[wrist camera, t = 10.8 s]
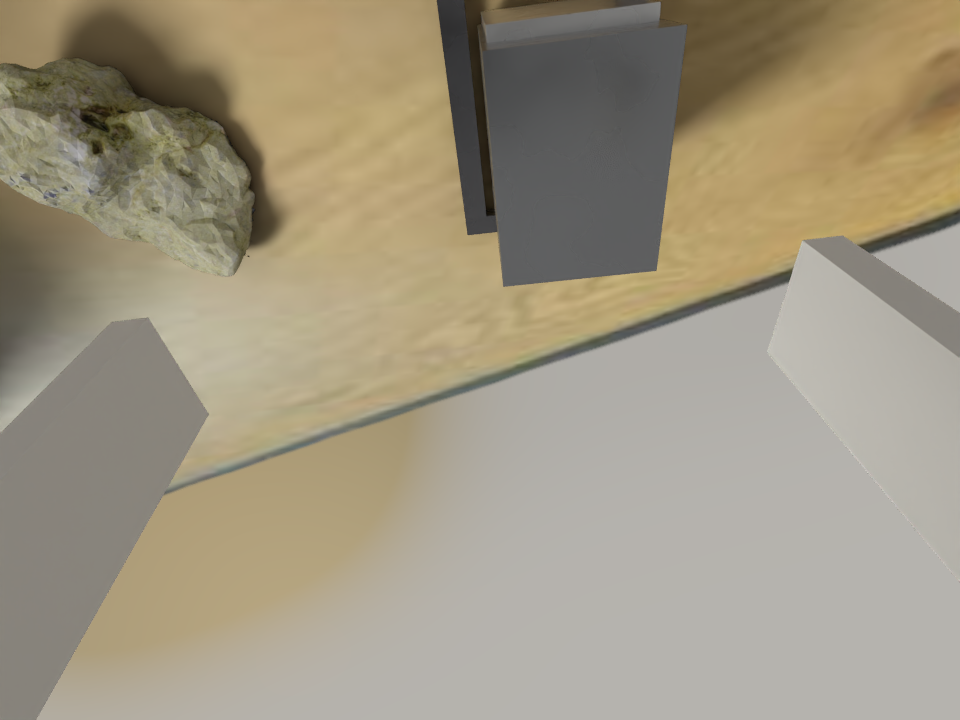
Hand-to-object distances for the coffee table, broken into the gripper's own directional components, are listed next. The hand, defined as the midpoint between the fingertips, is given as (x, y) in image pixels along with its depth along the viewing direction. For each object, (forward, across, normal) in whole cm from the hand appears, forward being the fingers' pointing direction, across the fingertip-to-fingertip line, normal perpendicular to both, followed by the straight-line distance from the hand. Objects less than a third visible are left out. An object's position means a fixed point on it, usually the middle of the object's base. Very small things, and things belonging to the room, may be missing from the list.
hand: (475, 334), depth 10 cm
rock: (+20, -17, 0) cm, 27 cm away
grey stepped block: (+20, +4, 0) cm, 20 cm away
